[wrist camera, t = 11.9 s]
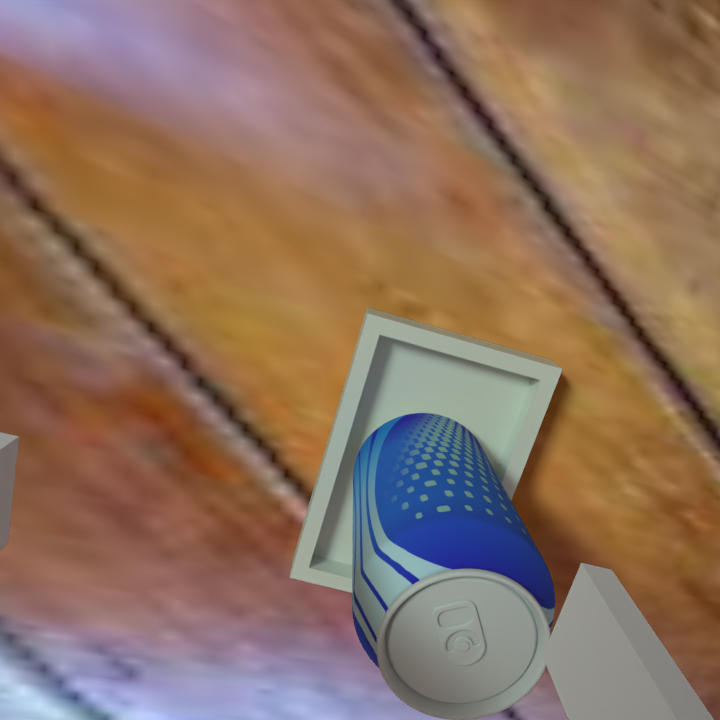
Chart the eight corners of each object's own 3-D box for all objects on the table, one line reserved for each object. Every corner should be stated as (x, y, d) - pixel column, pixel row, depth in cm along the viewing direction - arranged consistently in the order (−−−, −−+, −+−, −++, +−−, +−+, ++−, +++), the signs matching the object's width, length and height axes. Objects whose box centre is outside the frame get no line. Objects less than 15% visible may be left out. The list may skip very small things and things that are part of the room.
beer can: (505, 435, 37) (617, 599, 21) (448, 543, 38) (511, 766, 23) (385, 385, 36) (410, 516, 20) (332, 498, 37) (317, 698, 22)
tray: (367, 307, 35) (367, 313, 33) (549, 359, 36) (562, 369, 34) (293, 556, 39) (289, 577, 37) (458, 598, 40) (464, 620, 38)
